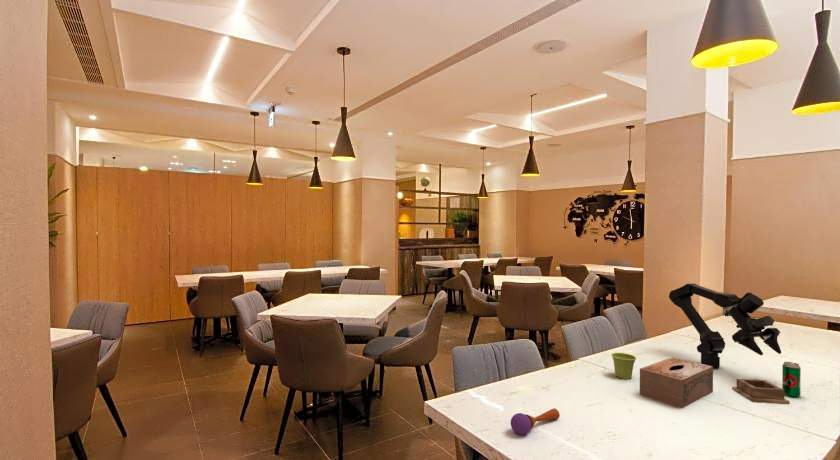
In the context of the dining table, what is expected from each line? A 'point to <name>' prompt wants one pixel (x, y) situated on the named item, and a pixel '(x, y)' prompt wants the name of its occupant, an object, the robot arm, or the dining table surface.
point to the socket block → (760, 391)
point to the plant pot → (623, 364)
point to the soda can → (791, 379)
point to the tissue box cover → (676, 381)
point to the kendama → (531, 420)
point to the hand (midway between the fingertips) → (771, 354)
